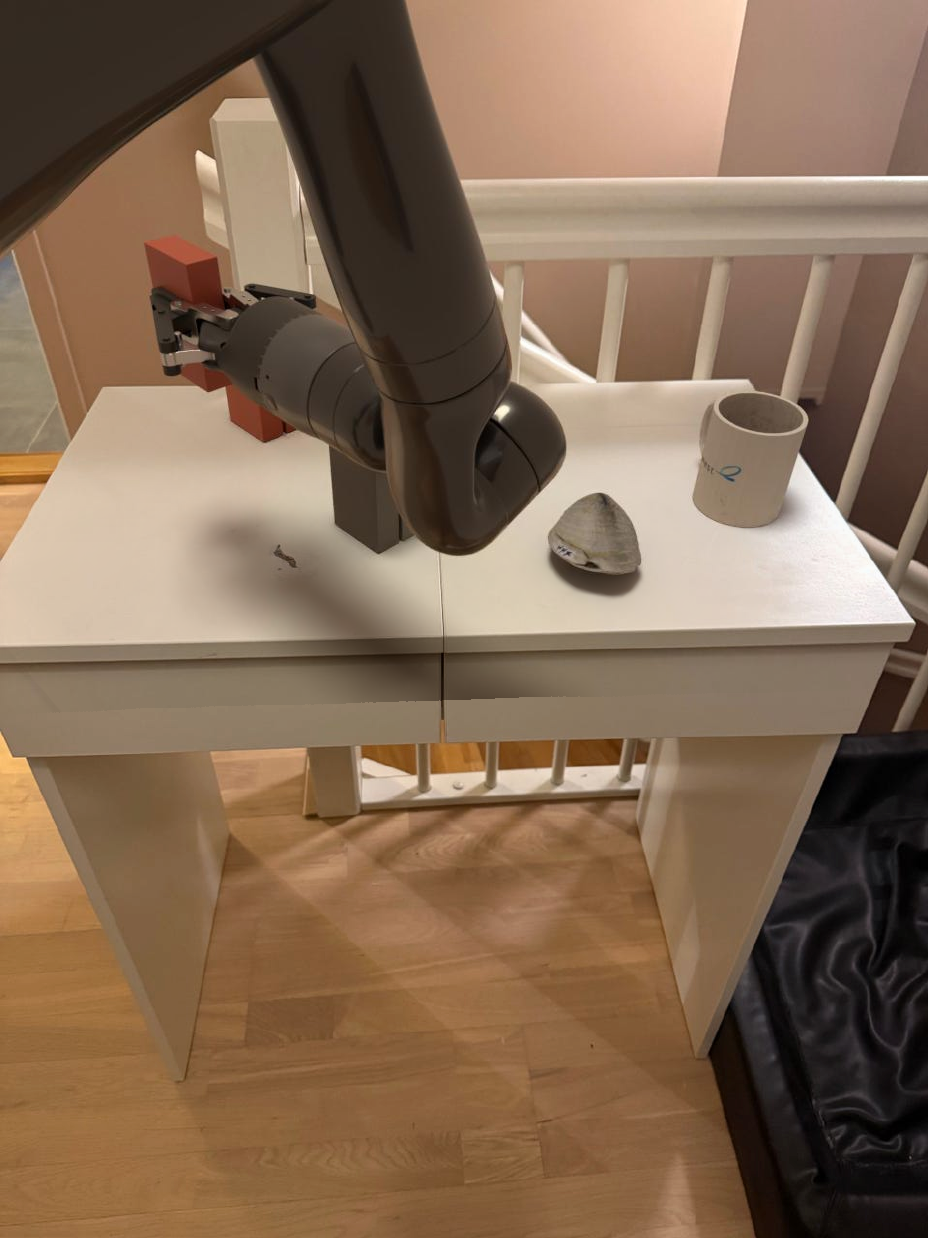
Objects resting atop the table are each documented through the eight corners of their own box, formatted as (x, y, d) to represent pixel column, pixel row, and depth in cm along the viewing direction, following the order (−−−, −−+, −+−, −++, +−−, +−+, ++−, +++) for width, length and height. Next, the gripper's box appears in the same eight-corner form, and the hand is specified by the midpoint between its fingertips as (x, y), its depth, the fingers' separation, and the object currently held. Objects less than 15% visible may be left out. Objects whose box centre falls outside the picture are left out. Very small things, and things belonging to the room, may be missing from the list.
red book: (208, 393, 71) (185, 264, 64) (168, 366, 74) (143, 241, 67) (236, 383, 72) (217, 256, 65) (196, 357, 75) (174, 234, 69)
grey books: (378, 554, 82) (373, 433, 74) (334, 523, 85) (325, 404, 77) (446, 517, 86) (449, 400, 78) (402, 490, 90) (400, 375, 82)
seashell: (541, 515, 87) (546, 471, 84) (626, 518, 87) (634, 474, 84) (548, 594, 78) (554, 548, 75) (643, 597, 78) (653, 551, 75)
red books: (263, 442, 96) (251, 349, 89) (230, 420, 99) (216, 328, 92) (328, 416, 100) (321, 326, 94) (293, 396, 104) (284, 307, 97)
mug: (793, 525, 87) (823, 434, 81) (708, 529, 86) (731, 437, 80) (749, 459, 97) (773, 372, 90) (671, 461, 96) (690, 374, 89)
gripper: (386, 291, 62) (245, 226, 71) (210, 347, 55) (78, 266, 64) (389, 390, 67) (256, 318, 76) (228, 454, 60) (102, 365, 69)
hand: (175, 294), depth 70 cm, fingers closed on red book, 2 cm apart
